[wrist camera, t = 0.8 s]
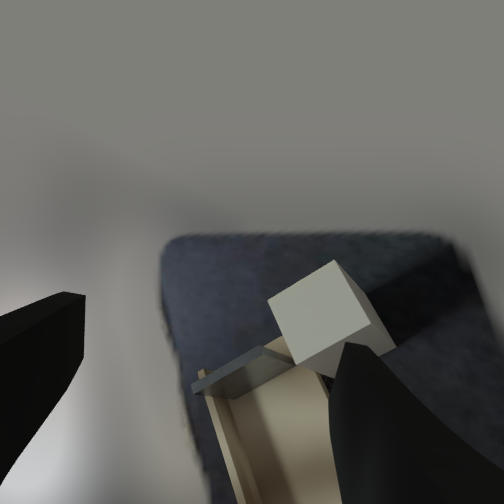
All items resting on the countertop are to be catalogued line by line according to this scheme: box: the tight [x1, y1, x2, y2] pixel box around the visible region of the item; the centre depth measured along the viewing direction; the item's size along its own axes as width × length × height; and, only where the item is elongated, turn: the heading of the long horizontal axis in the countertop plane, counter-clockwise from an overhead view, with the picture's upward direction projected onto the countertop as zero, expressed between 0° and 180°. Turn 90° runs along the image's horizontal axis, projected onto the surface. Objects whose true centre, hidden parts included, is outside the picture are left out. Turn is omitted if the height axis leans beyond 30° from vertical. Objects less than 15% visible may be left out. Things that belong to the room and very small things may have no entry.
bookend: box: [191, 345, 296, 400], centre depth 27 cm, size 1×5×5 cm, turn 114°
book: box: [268, 260, 396, 379], centre depth 26 cm, size 4×4×7 cm
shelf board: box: [198, 336, 342, 504], centre depth 25 cm, size 18×7×3 cm, turn 24°
